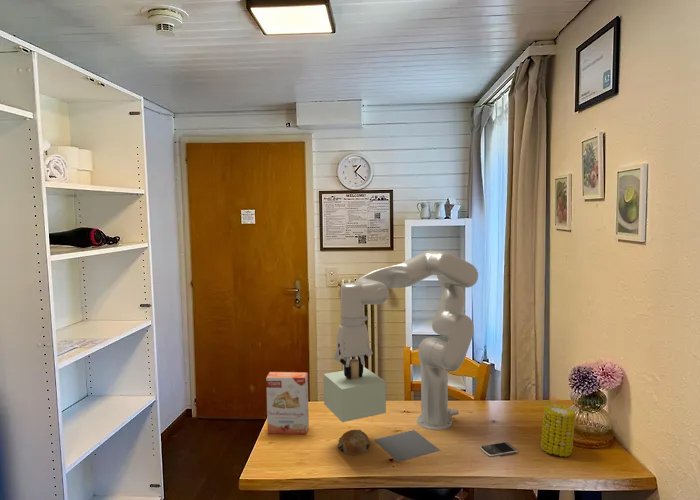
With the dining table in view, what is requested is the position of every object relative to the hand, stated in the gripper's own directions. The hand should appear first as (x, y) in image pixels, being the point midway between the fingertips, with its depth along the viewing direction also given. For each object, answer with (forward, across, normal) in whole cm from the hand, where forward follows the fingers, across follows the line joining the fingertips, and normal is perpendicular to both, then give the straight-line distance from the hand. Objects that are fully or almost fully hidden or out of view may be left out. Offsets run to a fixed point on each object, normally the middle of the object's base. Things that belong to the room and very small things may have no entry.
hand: (353, 376), depth 154 cm
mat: (+25, -16, +6) cm, 30 cm away
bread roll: (+25, 0, 0) cm, 25 cm away
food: (+25, -58, +30) cm, 70 cm away
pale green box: (+11, 0, 0) cm, 11 cm away
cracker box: (+25, +16, -22) cm, 37 cm away
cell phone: (+25, -41, +22) cm, 53 cm away
